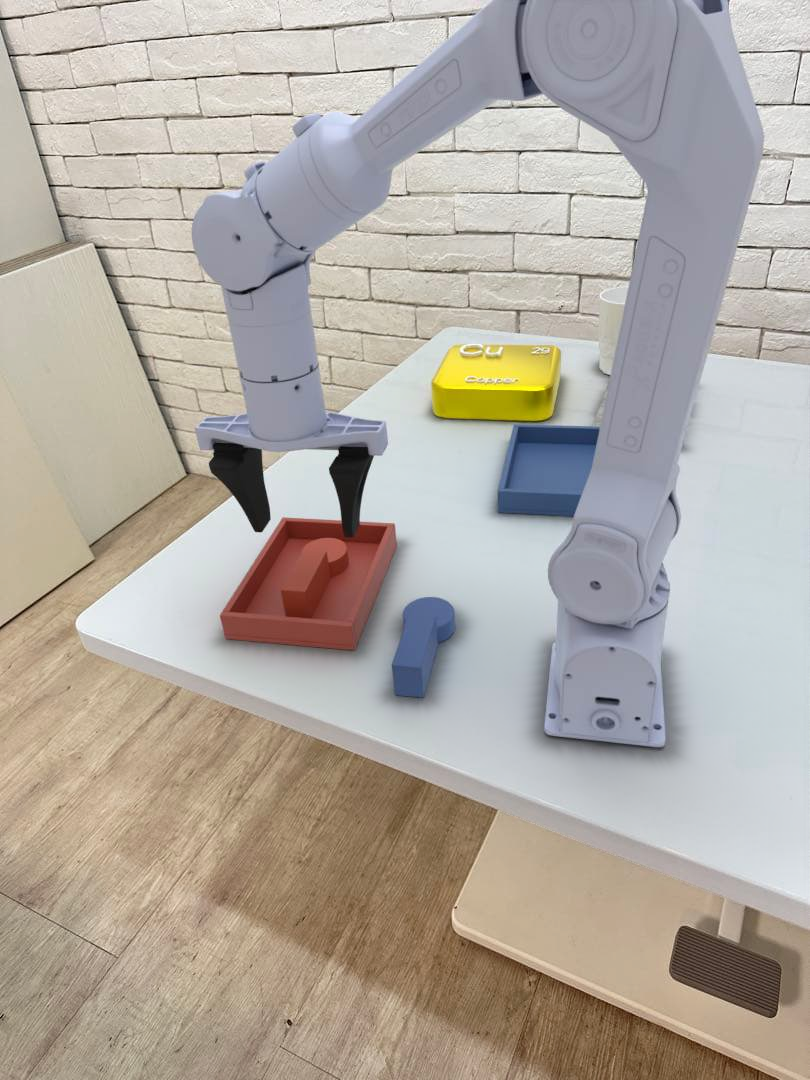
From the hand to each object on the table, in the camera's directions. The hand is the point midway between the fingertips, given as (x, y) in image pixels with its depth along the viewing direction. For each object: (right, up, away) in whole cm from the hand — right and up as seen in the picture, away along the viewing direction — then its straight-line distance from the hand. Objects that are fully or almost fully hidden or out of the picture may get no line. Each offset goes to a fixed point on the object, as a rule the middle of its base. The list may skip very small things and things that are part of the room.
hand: (306, 528), depth 64 cm
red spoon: (0, -5, +6) cm, 8 cm away
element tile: (+20, +18, +39) cm, 47 cm away
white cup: (+38, +22, +44) cm, 62 cm away
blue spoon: (+9, -10, -1) cm, 14 cm away
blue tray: (+24, +6, +20) cm, 32 cm away
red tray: (0, -5, +7) cm, 9 cm away
